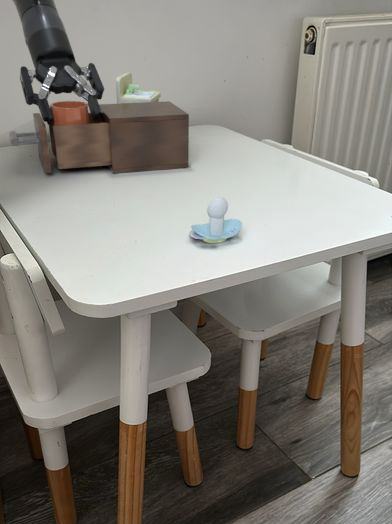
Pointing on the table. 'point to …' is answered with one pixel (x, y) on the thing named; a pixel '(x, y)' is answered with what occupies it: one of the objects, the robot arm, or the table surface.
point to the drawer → (70, 143)
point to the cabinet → (147, 136)
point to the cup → (69, 113)
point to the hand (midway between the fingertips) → (74, 119)
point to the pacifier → (216, 224)
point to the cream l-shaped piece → (133, 91)
